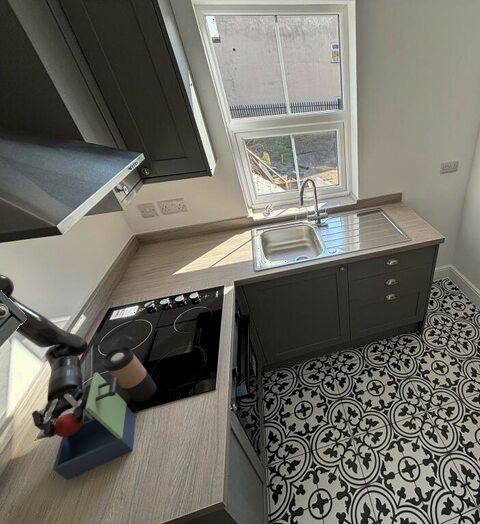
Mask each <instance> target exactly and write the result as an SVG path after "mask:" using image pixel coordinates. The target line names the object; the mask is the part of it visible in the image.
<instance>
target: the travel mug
mask: <svg viewBox="0 0 480 524" xmlns="http://www.w3.org/2000/svg"><path fill="white" fill-rule="evenodd" d="M101 363H102V366H103V367H104V368H105V370H106V371H107V372H108V373H109V374H110V375H111V377H112V378H118V383H117V385H119V386H120V387H121V388H122V390H123V391H124V392H125V393H126V394H127V395H128V396H129V397H130V398H131V399H132V400H133V401H134V402H136V403H143V402H145V401H147V400H149V399H150V398H152V397H153V395H155V393H156V391H157V385H156V383H155V382H154V380H153V378H152V377H151V375H150V374H149V373H148V371H147V369H146V368H145V367H144V366H143V364H142V363H141V361H140V360H139V359H138V358H137V356H136V355H135V353H134V352H133V351H132V350H131V348H130V347H128V346H123V347H120V348H114V349H112V350H111V351H109V352H107V354H106V355H105V356H104V357H103V358H102V361H101Z"/></svg>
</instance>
